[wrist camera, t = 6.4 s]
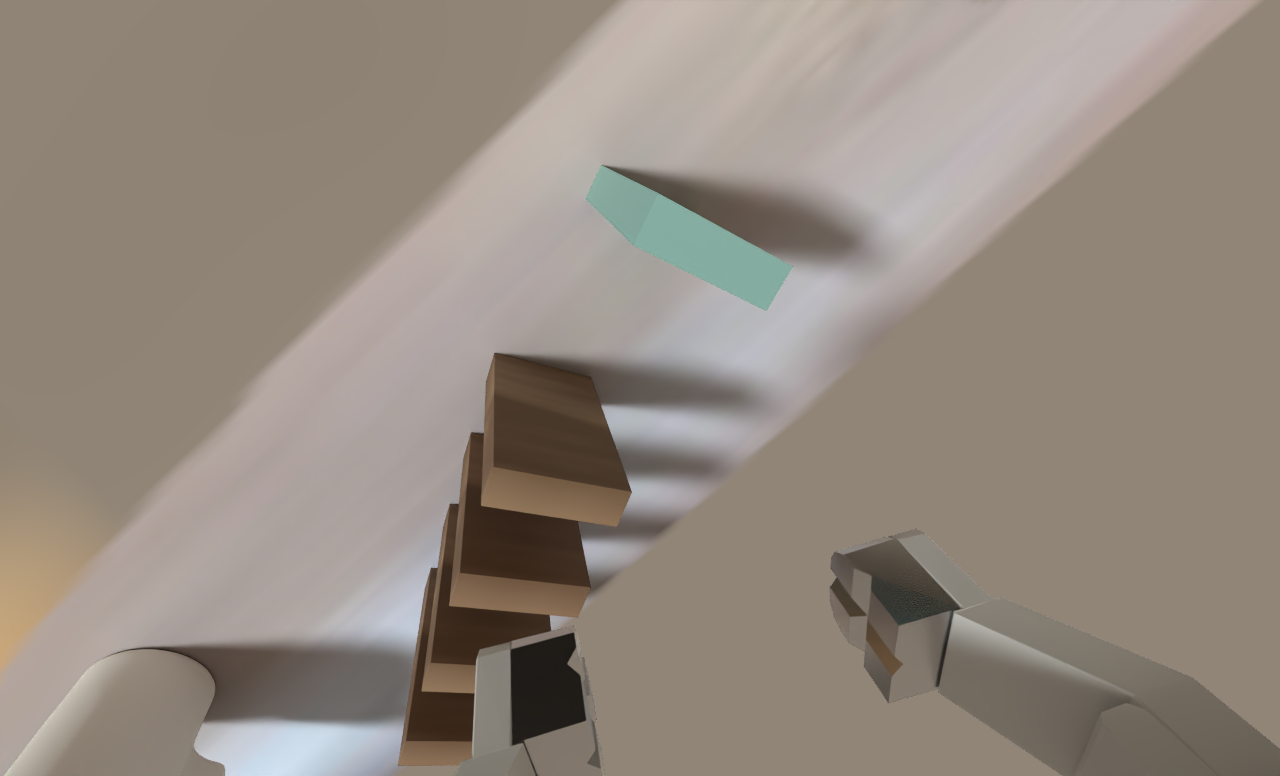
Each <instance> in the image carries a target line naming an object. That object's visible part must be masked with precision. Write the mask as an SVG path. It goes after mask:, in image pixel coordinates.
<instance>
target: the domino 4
mask: <svg viewBox="0 0 1280 776" xmlns="http://www.w3.org/2000/svg"><path fill="white" fill-rule="evenodd" d="M458 510H459V505H454V504H450V506H449V509H448V512H447V516H446V519H445V523H444V526H443V533H442V540H441V548H440V555H439V563H438V570H437V578H436V586H435V593H434V601H433V608H432V616H431V624H430V631H429V639H428V646H427V654H426V661H425V669H424V677H423V684H422V691H427V692H453V693H475V675H476V660H477V656H478V653H479V650H480V649H484V648H488V647H492V646H495V645H499V644H503V643H507V642H511V641H514V640H518V639H522V638H526V637H530V636H533V635H537V634H541V633H545V632H549V631H551V626H550V616H549V615H544V614H533V613H522V612H511V611H500V610H489V609H478V608H467V607H456V606H449V603H450V592H451V582H452V572H453V561H454V551H455V541H456V531H457V520H458Z"/></svg>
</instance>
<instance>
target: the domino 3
mask: <svg viewBox="0 0 1280 776" xmlns="http://www.w3.org/2000/svg"><path fill="white" fill-rule="evenodd" d="M483 446H484V435H481V434H476V433H471V435H470V438H469V441H468V445H467V448H466V452H465V455H464V459H463V469H462V479H461V489H460V500H459V510H458V520H457V531H456V541H455V551H454V561H453V572H452V582H451V592H450V603H449V606H456V607H467V608H478V609H489V610H500V611H511V612H522V613H533V614H544V615H555V616H566V617H578V616H579V614H580V611H581V609H582V607H583V605H584V602H585V600H586V598H587V595H588V593H589V591H590V588H591V586H590V581H589V576H588V571H587V566H586V561H585V556H584V551H583V546H582V541H581V536H580V531H579V526H578V521H576V520H569V519H563V518H556V517H550V516H543V515H537V514H531V513H524V512H518V511H511V510H505V509H498V508H492V507H486V506H481V494H482V470H483Z"/></svg>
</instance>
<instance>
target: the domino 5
mask: <svg viewBox="0 0 1280 776" xmlns="http://www.w3.org/2000/svg"><path fill="white" fill-rule="evenodd" d="M586 200H587V201H588V202H589V203H590V204H591V205H592V206H593V207H594V208H595V209H596V210H597V211H598V212H599V213H601V214H602V215H603V216H604V217H605V218H606V219H607V220H608V221H609V222H610V223H611V224H612V225H613V226H614V227H615V228H616V229H617V230H618V231H619V232H620V233H621V234H622V235H623V236H624V237H625V238H626V239H627V240H628V241H629V242H630V243H631V244H632V245H634V246H636V247H638V248H640V249H642V250H644V251H646V252H648V253H650V254H652V255H654V256H656V257H658V258H660V259H662V260H664V261H666V262H668V263H670V264H672V265H674V266H676V267H678V268H680V269H682V270H684V271H686V272H688V273H690V274H692V275H694V276H696V277H698V278H701V279H703V280H705V281H707V282H709V283H711V284H713V285H715V286H717V287H719V288H721V289H723V290H725V291H727V292H729V293H731V294H733V295H735V296H737V297H739V298H741V299H743V300H745V301H747V302H749V303H751V304H753V305H755V306H757V307H759V308H761V309H763V310H765V311H767V309H768V307H769V306H770V304H771V302H772V301H773V299H774V297H775V296H776V294H777V292H778V291H779V289H780V287H781V286H782V284H783V282H784V280H785V279H786V277H787V275H788V274H789V272H790V270H791V269H792V267H793V266H791V265H789V264H787V263H785V262H784V261H782V260H780V259H778V258H776V257H774V256H773V255H771V254H769V253H767V252H765V251H763V250H762V249H760V248H758V247H756V246H754V245H752V244H751V243H749V242H747V241H745V240H743V239H741V238H740V237H738V236H736V235H734V234H732V233H730V232H729V231H727V230H725V229H723V228H721V227H719V226H718V225H716V224H714V223H712V222H710V221H708V220H707V219H705V218H703V217H701V216H699V215H697V214H696V213H694V212H692V211H690V210H688V209H686V208H685V207H683V206H681V205H679V204H677V203H675V202H674V201H672V200H670V199H668V198H666V197H664V196H663V195H661V194H659V193H657V192H655V191H653V190H651V189H649V188H647V187H645V186H643V185H641V184H639V183H637V182H635V181H633V180H631V179H629V178H627V177H625V176H622V175H620V174H618V173H616V172H614V171H612V170H610V169H608V168H606V167H604V166H602V165H601V167H600V169H599V171H598V173H597V175H596V178H595V180H594V182H593V184H592V187H591V189H590V191H589V193H588V195H587V198H586Z"/></svg>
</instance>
